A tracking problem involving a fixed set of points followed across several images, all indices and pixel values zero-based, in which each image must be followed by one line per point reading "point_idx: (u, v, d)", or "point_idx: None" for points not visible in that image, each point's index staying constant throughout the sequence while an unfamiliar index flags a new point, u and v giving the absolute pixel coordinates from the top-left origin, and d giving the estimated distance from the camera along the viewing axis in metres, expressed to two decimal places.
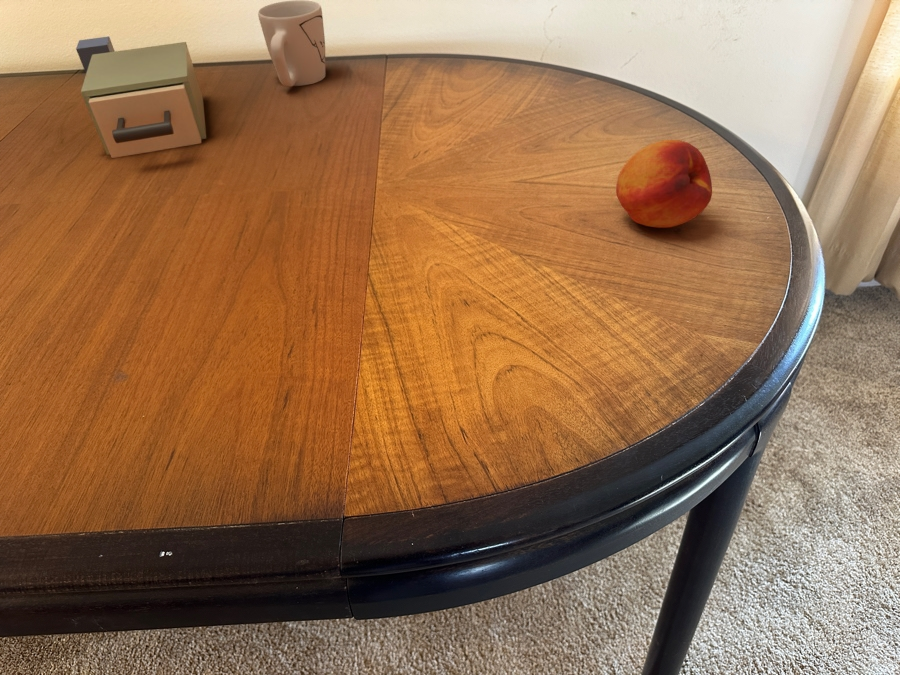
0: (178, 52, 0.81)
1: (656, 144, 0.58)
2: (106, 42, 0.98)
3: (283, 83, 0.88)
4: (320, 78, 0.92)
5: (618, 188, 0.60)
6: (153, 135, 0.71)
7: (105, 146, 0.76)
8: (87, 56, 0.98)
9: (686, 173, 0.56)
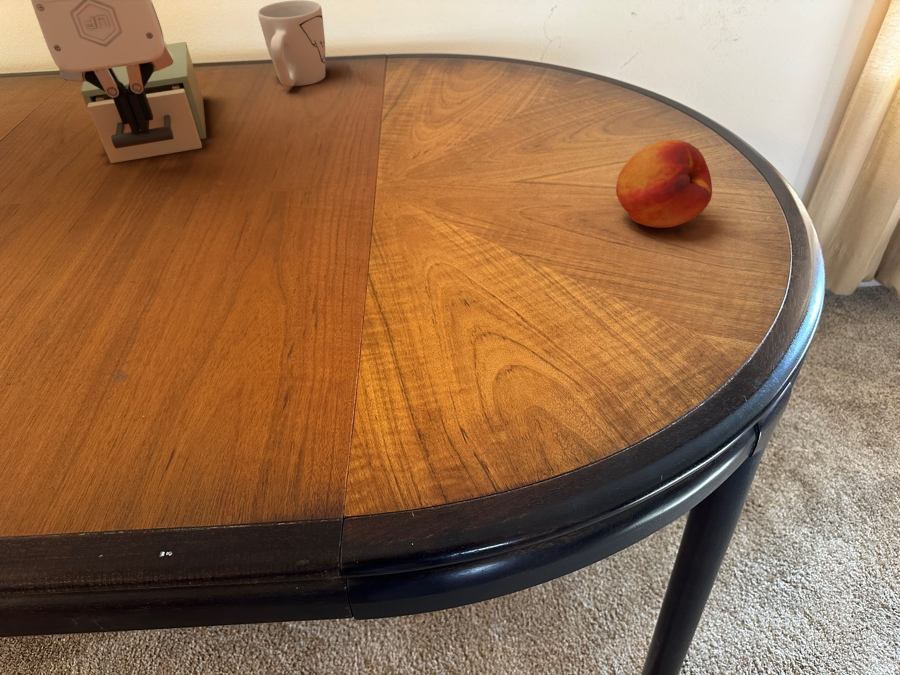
0: (178, 52, 0.81)
1: (656, 144, 0.58)
2: None
3: (283, 83, 0.88)
4: (320, 78, 0.92)
5: (618, 188, 0.60)
6: (153, 140, 0.70)
7: None
8: None
9: (686, 173, 0.56)
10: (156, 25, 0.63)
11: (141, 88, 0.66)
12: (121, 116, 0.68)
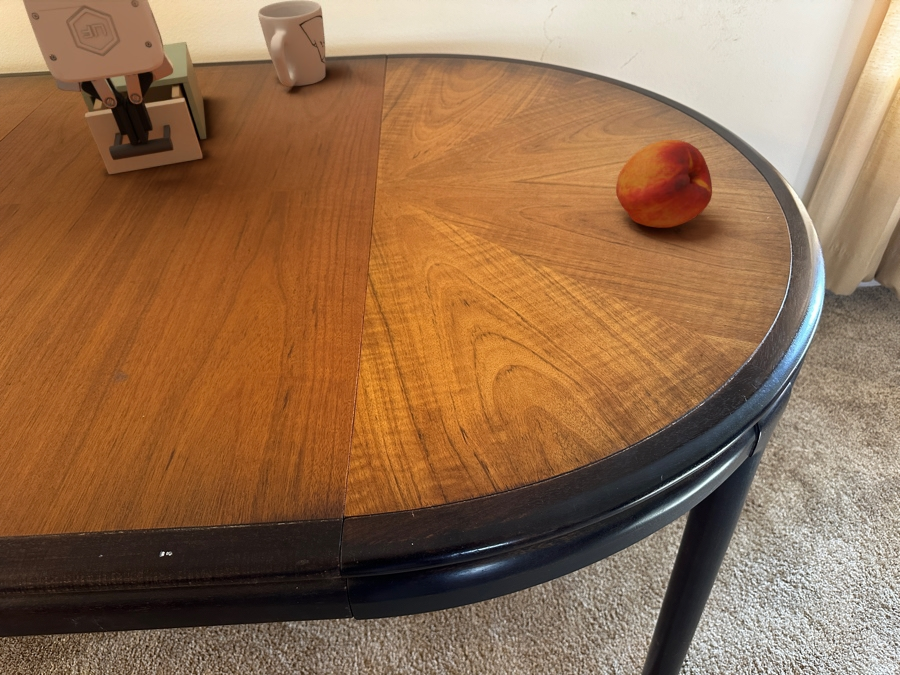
0: (178, 52, 0.81)
1: (656, 144, 0.58)
2: None
3: (283, 83, 0.88)
4: (320, 78, 0.92)
5: (618, 188, 0.60)
6: (152, 152, 0.68)
7: None
8: None
9: (686, 173, 0.56)
10: (155, 34, 0.61)
11: (140, 98, 0.64)
12: (119, 127, 0.66)
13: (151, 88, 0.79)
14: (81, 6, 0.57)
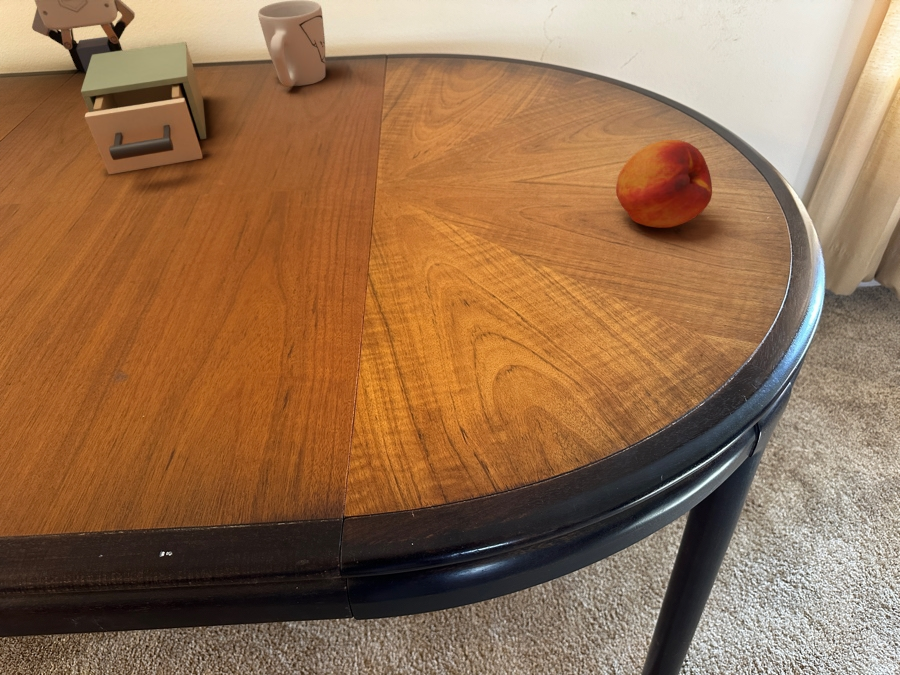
0: (178, 52, 0.81)
1: (656, 144, 0.58)
2: (106, 42, 0.98)
3: (283, 83, 0.88)
4: (320, 78, 0.92)
5: (618, 188, 0.60)
6: (152, 152, 0.68)
7: None
8: (87, 56, 0.98)
9: (686, 173, 0.56)
10: None
11: (117, 39, 0.98)
12: (75, 63, 0.99)
13: (151, 88, 0.79)
14: None
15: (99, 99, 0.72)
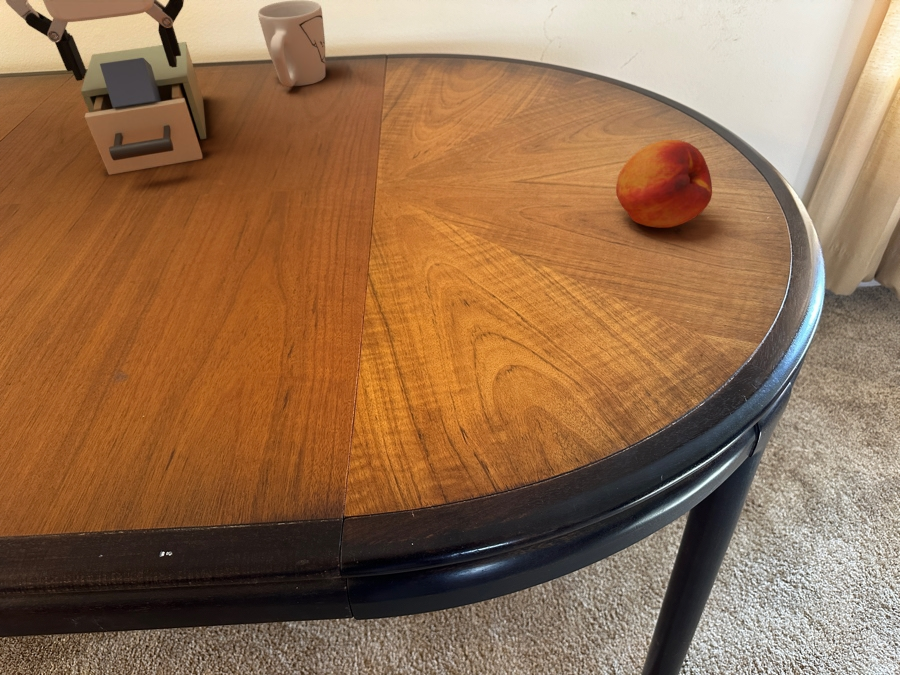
0: None
1: (656, 144, 0.58)
2: (150, 89, 0.69)
3: (283, 83, 0.88)
4: (320, 78, 0.92)
5: (618, 188, 0.60)
6: (152, 152, 0.68)
7: None
8: None
9: (686, 173, 0.56)
10: None
11: (171, 22, 0.69)
12: (64, 62, 0.69)
13: None
14: None
15: (99, 99, 0.72)
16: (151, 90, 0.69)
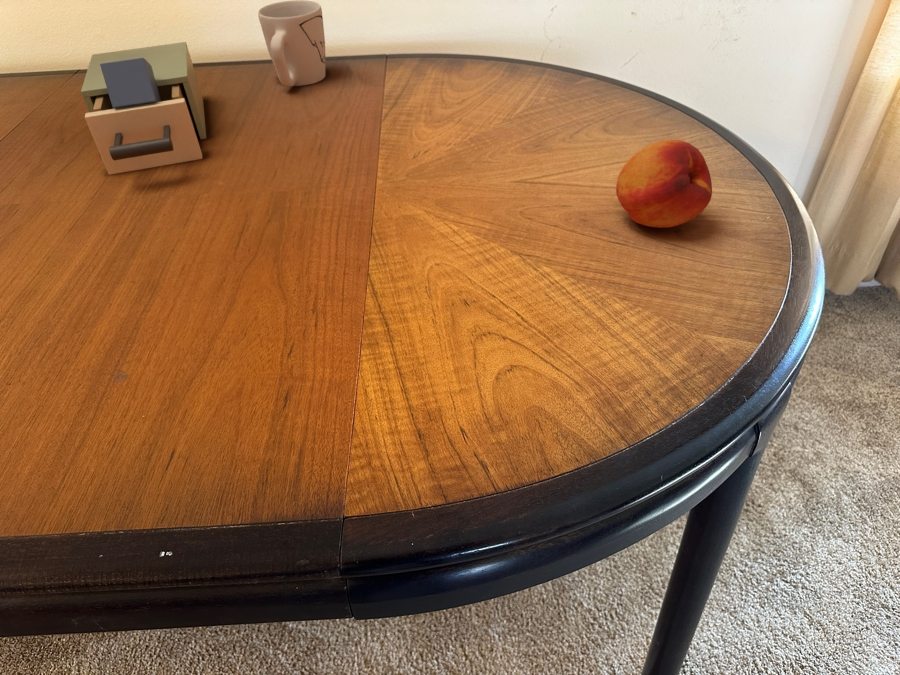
0: (178, 52, 0.81)
1: (656, 144, 0.58)
2: (150, 89, 0.69)
3: (283, 83, 0.88)
4: (320, 78, 0.92)
5: (618, 188, 0.60)
6: (152, 152, 0.68)
7: None
8: None
9: (686, 173, 0.56)
10: None
11: None
12: None
13: None
14: None
15: (99, 99, 0.72)
16: (151, 90, 0.69)
